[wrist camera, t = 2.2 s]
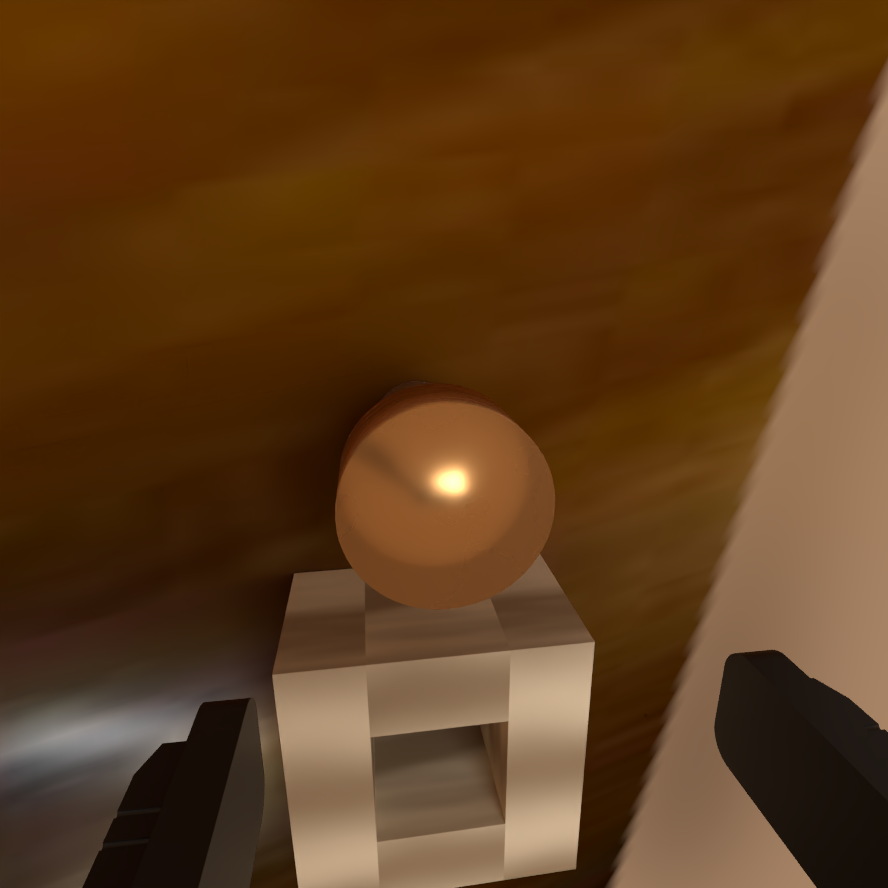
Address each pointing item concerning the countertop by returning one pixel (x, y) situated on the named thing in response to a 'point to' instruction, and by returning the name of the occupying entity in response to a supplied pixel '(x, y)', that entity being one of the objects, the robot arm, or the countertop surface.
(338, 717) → the birch block
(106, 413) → the countertop surface
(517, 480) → the copper pin
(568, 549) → the countertop surface
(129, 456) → the countertop surface
